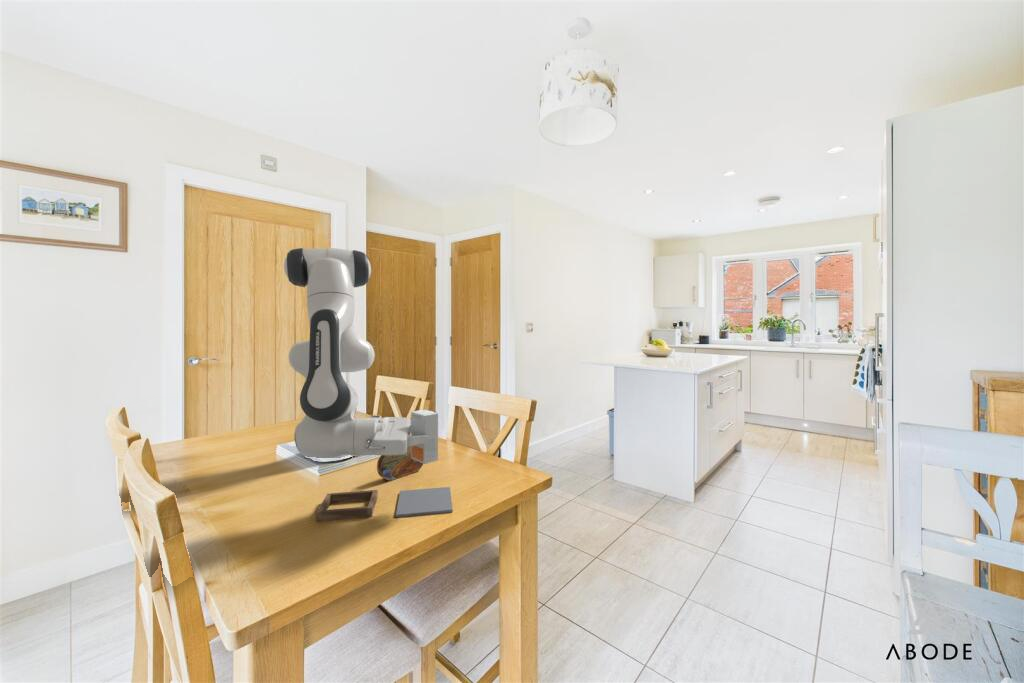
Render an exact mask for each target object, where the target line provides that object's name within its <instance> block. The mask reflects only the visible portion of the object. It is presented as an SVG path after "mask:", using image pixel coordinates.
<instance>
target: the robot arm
mask: <svg viewBox="0 0 1024 683" xmlns="http://www.w3.org/2000/svg"><path fill="white" fill-rule="evenodd" d="M283 264H284V265H283V268H284V273H285V276H286V278H287V280H288V282H289V283H290V284H292V285H294V286H297V287H301V288H305V287H306V306H307V307H306V308H307V316H308V324H309V340H303V341H300V342H295V344H293V345H292V347H291V348H290V349H289V354H288V362H289V364H290V367H291V368H292V369H293V370H294V371H295V372H297V373H299V375H301V376H303V378H305V381H304V384H303V386H302V388H301V392H300V394H299V405H300V407H301V410H302V411H303V413H304V414H305V416H303V418H302V419H301V421H300V422H299V423H297V424H296V426H295V428H294V444H295V447H296V449H297V451H298V452H299V453H300V454H301V455H302V456H307V457H316V458H341V457H345V456H348V455H351V456H355V457H361V456H381V455H403V454H406V453H407V448H408V446H415V445H418V444H422V443H427V442H428V435H427V434H421V435H419V436H411V418H409V417H405V416H404V417H401V416H400V417H398V416H397V417H396V416H384V417H382V416H381V415H379V414H378V415H372V416H370V417H359V418H358V417H357V418H355V417H356V413H357V408H358V403H359V397H358V393H357V392H356V389H354V388H353V386H352V385H350V384H349V383H347V382H346V381H345V379H344V377H343V374H342V373H355V372H359V371H360V372H361V371H364V370H369V369H370V368H371V366H373V363H374V361H375V357H376V353H375V348H374V347H373V346H372V344H371V343H370V342H369V341H368V340H366V339H364V338H363V337H362V336H360V335H359V333H358V332H357V331H356V329H355V327H354V326H353V322H354V316H355V295H354V294H355V293H354V288H359V287H363V286H365V285H366V284H368V283H369V280H370V277H371V273H372V267H371V263H370V260H369V259H368V255H367V254H366V253H365V252H362V251H359V250H355V249H353V250H349V249H342V248H335V247H334V248H331V247H329V248H302V247H301V248H293V249H290V250H289V251H288V252H287V254H286V256H285V258H284V263H283Z"/></svg>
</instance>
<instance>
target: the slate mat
mask: <svg viewBox="0 0 1024 683" xmlns="http://www.w3.org/2000/svg"><path fill="white" fill-rule="evenodd" d="M397 500H398V502H397V505H396V506H397V507H396V512H395V518H401V517H412V516H413V517H414V516H416V517H417V516H422V515H423V516H425V515H436V514H437V515H438V514H446V513H448V514H449V513H454V512H453V502H452V493H451V487H450V486H446V487H445V486H444V487H431V488H419V489H418V488H417V489H406V490H399V494H398V499H397Z"/></svg>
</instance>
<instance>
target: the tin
mask: <svg viewBox="0 0 1024 683" xmlns="http://www.w3.org/2000/svg"><path fill="white" fill-rule="evenodd" d="M379 456H380V457H379V458H378V460H377V464H376V470H377V474H378V475H379V476H380V477H381V478H382V479H384V480H385V481H386V480H387V481H388V482H389V481H390V482H391V481H396V480H398V479H401V478H404V477H407V476H409V475H412V474H414V473H417V472H418V471H420V469H422V468H423V465H424V464H423V463H421V462H419V461H417V460H414V459H412V458H411V446H408V448H407V453H406V454H403V455H379Z"/></svg>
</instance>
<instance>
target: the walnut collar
mask: <svg viewBox="0 0 1024 683" xmlns="http://www.w3.org/2000/svg"><path fill="white" fill-rule="evenodd" d="M378 494H379V492H378V489H370V490H358V491H355V490H354V491H343V492H332V493H327V494H326V495H325V497H324V498H323V500H322V502H321V503H320V506H319V507H318V508H317V510H316V512H315V522H327V521H338V520H348V519H349V520H350V519H356V518H357V519H358V518H367V517H368V518H370V517H373V514H374V512H375V507H376V504H377V501H378ZM356 501H357V502H358V501H368V505H367V506H359V507H358V506H357V507H346V508H336V509H335V508H334V509H329V507H330V505H331V504H333V503H336V504H337V503H347V502H356Z"/></svg>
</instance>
